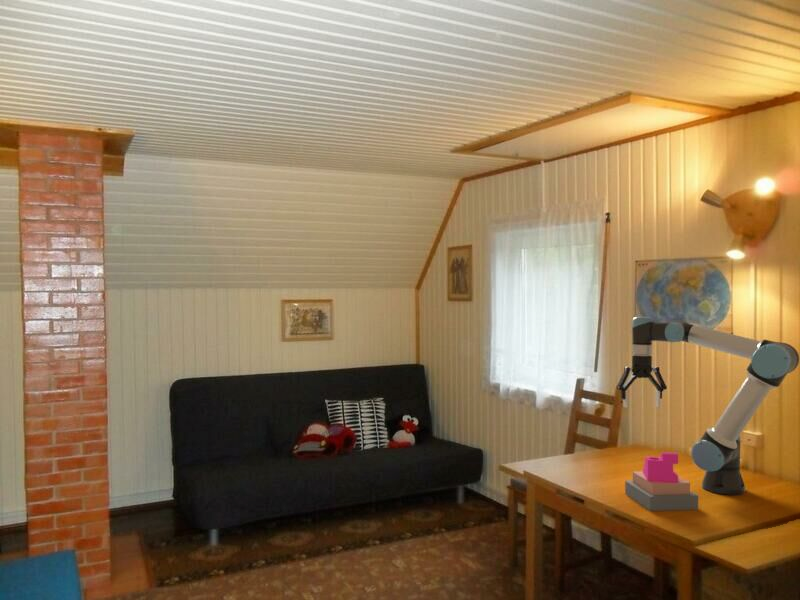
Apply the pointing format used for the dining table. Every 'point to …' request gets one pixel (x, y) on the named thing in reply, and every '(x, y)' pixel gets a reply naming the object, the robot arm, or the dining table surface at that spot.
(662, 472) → the bracket
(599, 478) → the dining table surface
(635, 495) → the two-tone base plate
